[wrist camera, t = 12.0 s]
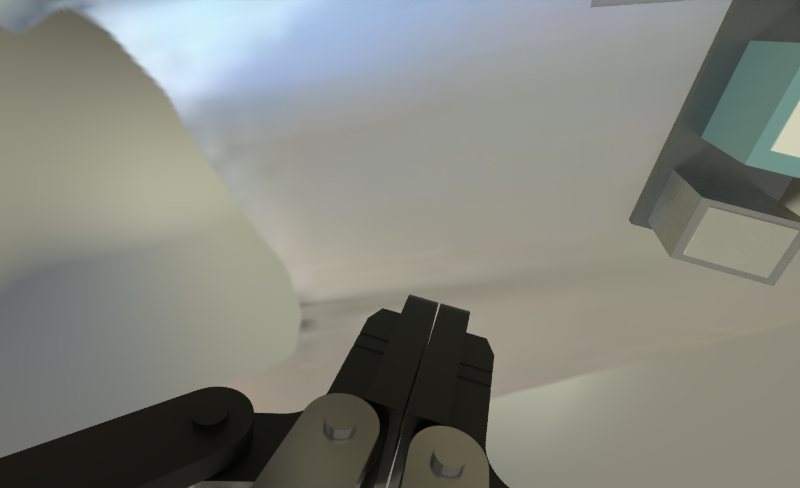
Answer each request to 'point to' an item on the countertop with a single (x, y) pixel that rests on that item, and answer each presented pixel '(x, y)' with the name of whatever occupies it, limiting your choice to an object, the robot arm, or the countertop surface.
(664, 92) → the countertop surface
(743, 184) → the rail
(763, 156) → the block
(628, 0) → the block
